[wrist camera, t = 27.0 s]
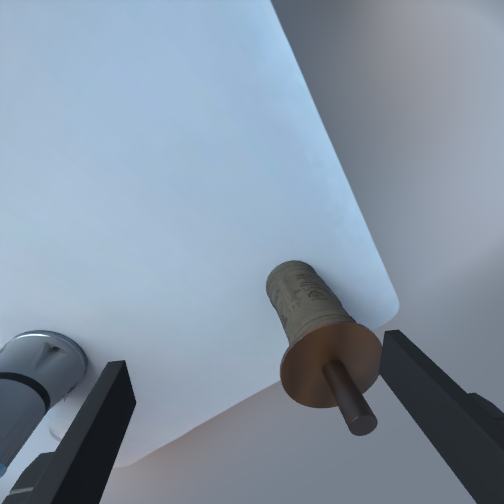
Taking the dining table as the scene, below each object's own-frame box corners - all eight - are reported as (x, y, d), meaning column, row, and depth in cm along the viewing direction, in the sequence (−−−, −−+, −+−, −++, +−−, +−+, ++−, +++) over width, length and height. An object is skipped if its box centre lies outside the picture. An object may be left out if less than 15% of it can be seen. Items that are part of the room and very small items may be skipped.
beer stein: (261, 261, 48) (286, 331, 30) (315, 252, 49) (371, 315, 30) (270, 323, 54) (295, 413, 36) (318, 314, 55) (366, 398, 37)
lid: (280, 410, 35) (296, 480, 27) (279, 326, 30) (298, 381, 22) (374, 397, 36) (415, 460, 28) (388, 315, 31) (441, 363, 24)
